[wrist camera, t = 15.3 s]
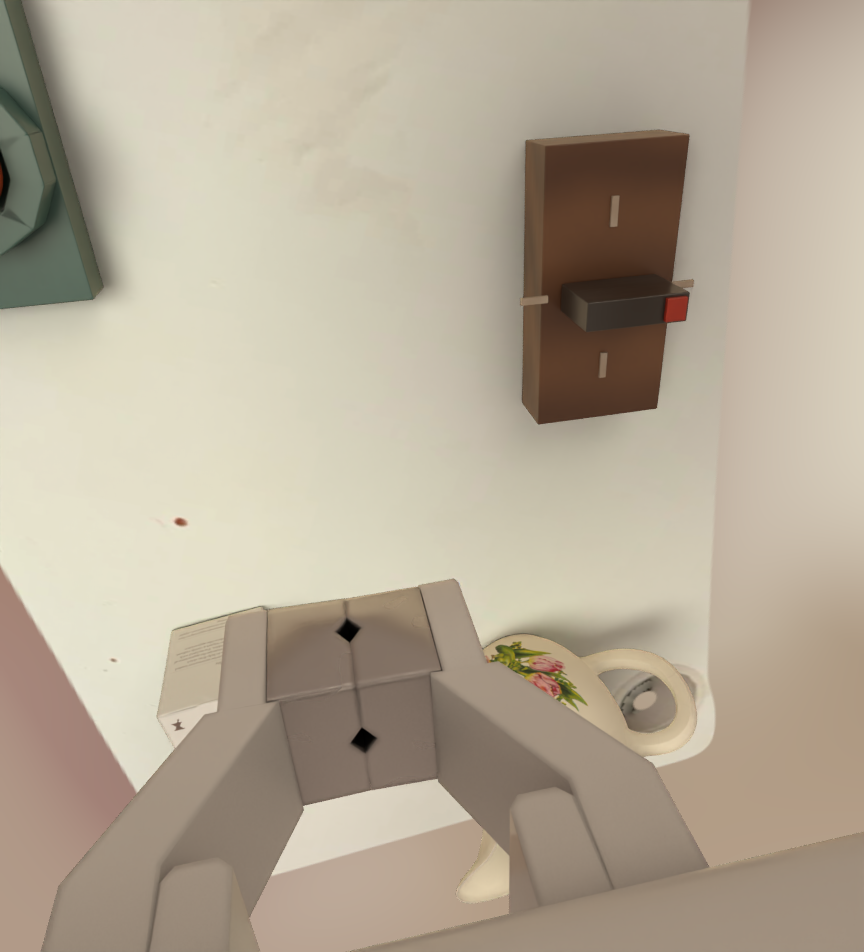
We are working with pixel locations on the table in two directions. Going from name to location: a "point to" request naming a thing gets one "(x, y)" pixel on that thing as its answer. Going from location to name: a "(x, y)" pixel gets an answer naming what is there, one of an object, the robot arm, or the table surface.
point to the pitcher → (589, 699)
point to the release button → (1, 180)
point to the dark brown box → (624, 302)
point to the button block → (36, 185)
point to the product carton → (192, 676)
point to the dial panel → (596, 266)
